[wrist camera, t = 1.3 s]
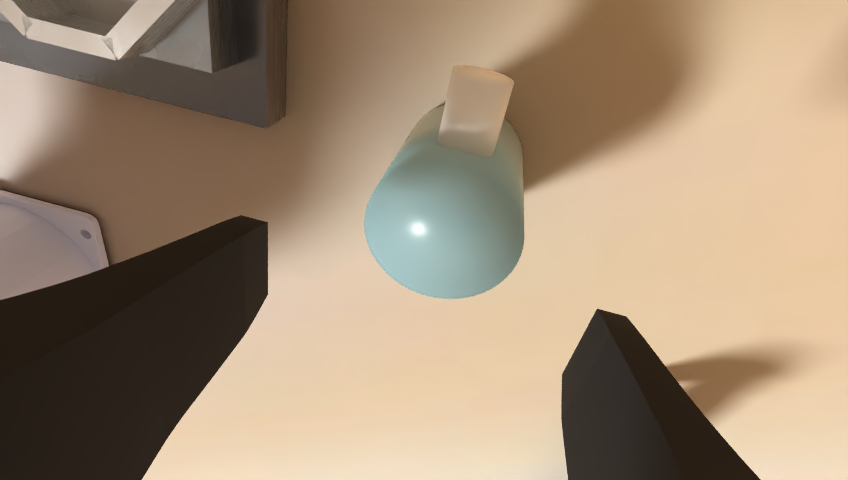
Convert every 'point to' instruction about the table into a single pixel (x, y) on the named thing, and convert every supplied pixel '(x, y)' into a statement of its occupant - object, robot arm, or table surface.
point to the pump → (453, 194)
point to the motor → (160, 50)
